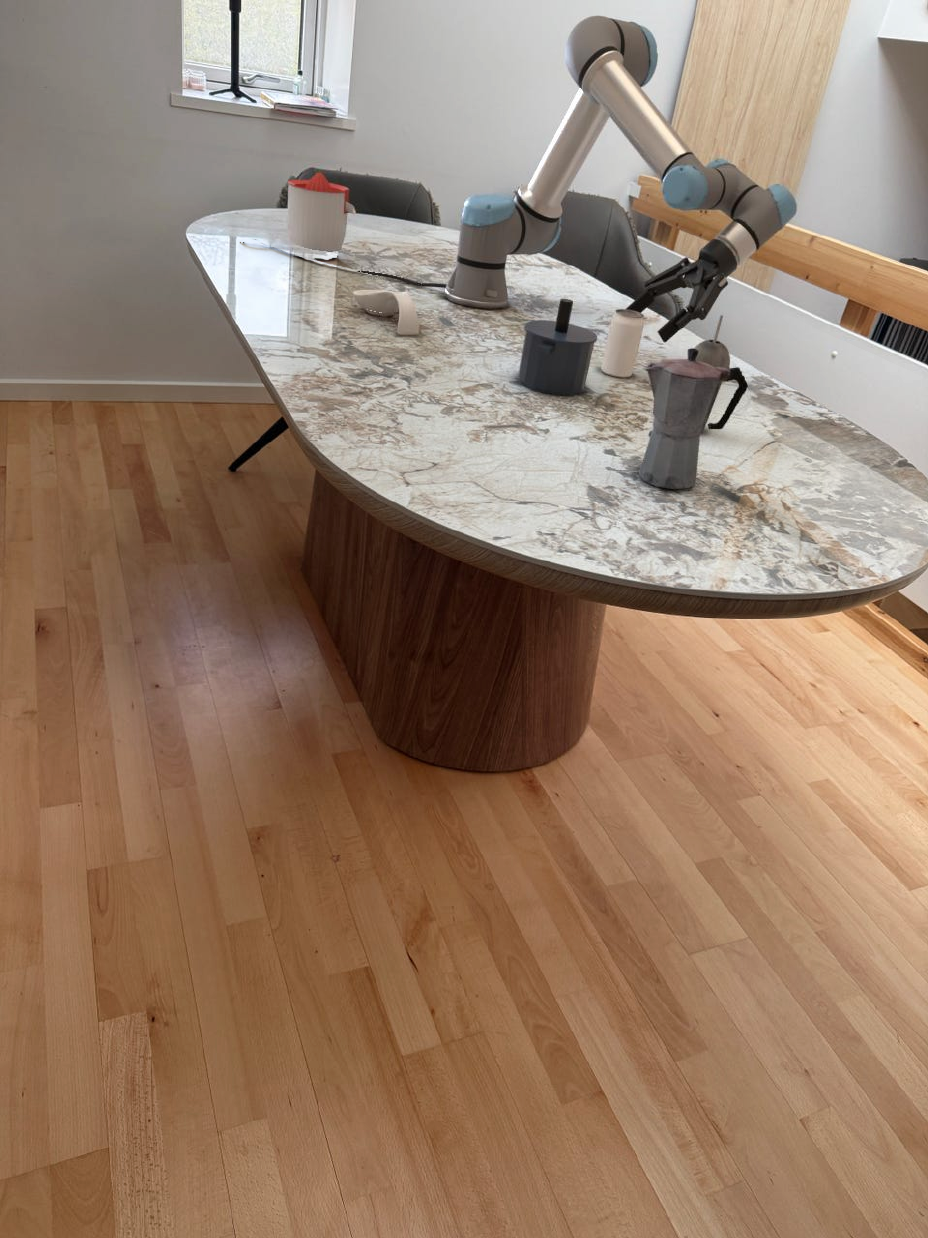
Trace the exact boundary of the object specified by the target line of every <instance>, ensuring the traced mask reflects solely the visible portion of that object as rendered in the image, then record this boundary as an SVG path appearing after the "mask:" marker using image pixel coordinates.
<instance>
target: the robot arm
mask: <svg viewBox="0 0 928 1238" xmlns="http://www.w3.org/2000/svg"><path fill="white" fill-rule="evenodd" d="M658 58H659V54H658V44H657V41H656V37H654V35H653V33H652V32H651V31H650V29H648V28H647V27H645V26H644V25H640V24H639V23H637V22H634V21H626V20H622V19H617V18H611V17H607V16H604V15H591V16H588V17H585V18H584V19H583V20H580V22H578V23H577V24H576V25H575V26H574V27H573V28H572V30H571V31H570V33H569V35H568V37H567V40H566V43H565V49H564V59H565V65H566V67H567V70H568V73H569V74H570V76H571V78H572V79H573V81H574V82H575V84H576V85H577V86H578V88H579V89H578V91H577V92H576V94H575V97H574V98H573V100H572V102H571V104H570V106H569V108H568V109H567V111H566V114H565V115H564V117H563V119H562V121H561V123H560V124H559V127H558V129H557V130H556V132H555V134H554V136H553V137H552V140H551V142H550V144H549V146H548V148H547V149H546V151H545V153H544V154H543V157H542V159H541V161H540V163H539V165H538V167H537V168H536V170H535V172H534V174H533V176H532V178H531V180H530V181H529V183H526V184H522V185H521V186H520V187H519V188H518V190H517V192H516V193H515V196H514V198H512V197H511V196H509V195H505V194H499V193H478V194H473V195H471V196H469V197H468V198H467V199H466V200H465V201H464V203H463V210H462V213H461V215H460V216H461V217H460V218H461V222H460V230H459V239H458V247H457V255H456V263H455V266H454V268H453V271H452V272H451V274H450V276H449V279H448V282H447V283H437V282H420V281H416V282H415V280H412V279H410V278H406V277H403V278H401V277H402V276H400V277H397V276H398V275H396V276H393V275H394V274H391V275H388V274H389V273H386V274H382V273H383V272H380V273H375V272H376V271H373V272H369V271H370V270H367V271H361V272H363V273H368V274H372V275H371V276H375V275H378V276H377V277H381V276H383V278H386V279H387V278H388V279H393V280H398V281H401V282H404V283H406V284H409V285H413V286H418V287H423V288H441V289H442V288H443V289H445V290H444V297H445V299H447V300H448V301H450V302H452V303H455V304H458V305H460V306H461V305H462V306H464V307H465V306H466V307H471V308H476V309H486V310H497V309H504V308H506V307H507V306H508V302H509V301H508V300H509V293H508V287H507V279H506V274H505V273H506V264H507V257H508V256H514V255H527V256H532V255H537V254H542V253H545V252H548V251H549V250H551V248H553V247H554V246H555V244H556V243H557V241H558V240H559V238H560V235H561V232H562V226H561V224H562V217H561V216H562V214H563V207H562V204H561V203H562V202H563V200H564V197H565V196H566V194H567V193H568V191H569V189H570V187H571V185H572V184H573V182H574V180H575V178H576V177H577V175H578V174H579V171H580V170H581V169H582V166H583V165H584V162H586V159H587V157H588V156H589V154H590V152H591V150H592V149H593V147H594V146H595V143H596V142H597V140H598V138H599V136H600V134H602V131H603V129H604V127H605V126H606V124H607V122H608V120H609V119H611V121H612V122H613V123H614V124H615V125H616V127H617V128H618V129H619V130H620V132H621V133H622V134H623V136H624V137H625V138H626V140H628V143H630V145H631V146H632V147H633V148H634V150H635V151H636V152H637V153H638V155H639V156H640V157H641V158H642V160H643V161H644V162H645V163H646V164H647V166H648V168H650V170H651V171H652V172H653V174H654V175H655V176H656V178H658V180H659V181H660V182H661V192H662V198H663V200H664V202H665V204H666V205H668V207H670V208H673V209H676V210H680V211H688V212H689V211H721V212H722V213H723V214H725V215H726V216H727V217H729V219H731V220H732V221H730V222H729V223H728V224H727V225H726V226H725V227H724V228H723V229H722V230H720V231H719V232H718V233H717V234H716V235H715V236H714V238H712V239H710V240H709V241H708V242H707V243H706V244H705V245H704V246H702V248H700V250H699V251H698V257H697V260H695V261H693V262H691V261H690V259H689V258H688V256H687V257H686V256H685V257H684V258H683V259H681V260H680V261H679V262H677V263H675V264H674V265H673V266H670V267H669V268H667V269H665V270H663V271H662V272H660V273H658V274H655V276H653V277H651V278H649V279H648V280H645V281H644V282H643V287H644V288H645V289H644V291H643V292H642V293H641V294H640V295H638V296H637V298H636V299H634V300H633V302H631V303H630V304H629V305H628V306H627V307H626V308H625V309H626V310H632V311H636V312H639V313H641V314H642V312H644V311H645V310H646V309H647V308H648V307H649V306H651V304H653V302H655V300H656V298H657V297H661V296H662V295H665V294H669V293H670V292H672V291H673V292H674V291H676V290H679V289H687V288H688V289H692V293H691V297H690V300H689V302H688V305H686V306H685V308H682V309H681V310H680V311H678V313H676V314H675V315H674V316H672V318H670V319H669V320H668V321H666V323H665V324H664V325H663V326H662V327H660V328H659V329H658V330H657V334H658V336H659V337H660V339H661V340H662V342H663V343H665V344H666V343H667V342H668V341H669V340H670V339H671V338H673V336H675V335H676V334H677V333H678V332H679V331H681V330H683V329H684V328H685V327H687V325H689V324H690V323H691V321H695V320H697V319H699V320H700V321H704V320H705V319H706V318H707V316H708V315H709V313H710V311H711V310H712V308H713V306H714V305H715V303H716V301H717V299H718V298H719V296H720V295H721V292H722V291H724V289H726V287H727V286H728V285H729V282H728V279H727V278H728V277H730V275H732V273H734V272H735V271H736V270H737V268H738V267H740V266H741V265H742V264H743V263H744V262H746V260H748V259H749V258H750V257H751V256H752V255H753V254H754V253H755V252H757V251H758V250H759V249H760V248H761V247H763V246H764V244H766V243H767V242H768V241H769V240H770V239H772V238H773V237H774V236H775V235H776V234H777V233H778V232H780V231H782V230H783V229H784V227H785V226H786V225H787V224H788V223H789V222H790V221H791V220H792V219H793V218H794V217H795V216H796V214H797V211H798V204H797V201H796V198H795V196H794V195H793V193H792V192H791V191H790V190H789V189H788V188H787V187H786V186H784V185H782V184H780V183H773V184H771V186H769V187H767V188H766V189H764V188H763V187H762V186H760V185H758V184H757V183H756V182H755V181H753V179H751V178H750V177H748V175H747V174H745V173H743V172H742V171H741V170H740V169H739V168H738V167H737V165H735V164H734V163H731V162H729V161H728V160H727V159H725V158H723V157H720V158H716V159H714V160H713V161H710V162H709V163H708V164H707V165H706V166H705V165H704V164H703V163H702V162H701V160H699V158H698V157H697V156H696V155H695V154H694V153H693V151H692V150H691V148H690V147H689V146H688V144H687V143H686V142H685V141H684V140H683V139H682V137H681V136H680V135H679V133H678V132H677V131H676V130H675V128H674V127H673V126H672V125H671V124H670V122H669V120H668V119H667V118H666V117H665V116H664V115H663V114H662V112H661V111H660V109H658V107H657V106H656V105H655V104H654V102H653V101H652V100H651V98H650V97H649V96H648V94H647V93H646V92H645V91H644V90H643V87H645V86H646V85H648V83H649V82H650V81H651V79H652V78H653V76H654V74H655V72H656V69H657V66H658V60H659V59H658ZM358 272H360V271H358ZM363 273H362V274H363ZM368 274H367V275H368ZM405 278H406V279H405ZM418 282H420V283H418ZM421 283H422V284H421Z"/></svg>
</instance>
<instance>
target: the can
mask: <svg viewBox="0 0 928 1238" xmlns="http://www.w3.org/2000/svg"><path fill="white" fill-rule="evenodd" d="M644 317H645V315H644V314H643V313H642V312H641V313H639V312H636V311H632V310H626V308H619V309H615V313H614V315H612V317H611V321H610V324H609V329H608V334H607V338H606V343H605V348H604V352H603V357H602V361H601V366H600V369H601V372H602V373H603V374H605V375H608V376H610V377H615V378H620V379H627V378H630V377H631V376H632V375H633V373H634V370H635V365H636V361H637V357H638V352H639V349H640V344H641V340H642V335H643V330H644V326H645V322H644Z"/></svg>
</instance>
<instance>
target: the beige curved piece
mask: <svg viewBox="0 0 928 1238" xmlns="http://www.w3.org/2000/svg"><path fill="white" fill-rule="evenodd" d="M352 295H353V298H354V301H355V302H356V303H357V304H358V305H359V307H361V308H362V307H363V308H362V309H363V310H364V311H365V312H366V313H368V314H370V315H373V316H380V317H389V316H393V315H394V314H395V313H397V312H398V313H399V314H398V321H397V322H398V323H397V331H396V333H397V335H404V336H405V335H407V336H409V335H411V336H412V335H413V336H414V335H419V334H420V323H419V318H418V313H417V310H416V309H417V308H416V306H415V303H414V301H413V299H412V297H411V295H410V293H409V292H408V291H402V292H396V291H392V290H385V289H384V290H383V289H358V290H354V291H353V292H352ZM364 308H365V309H364ZM367 309H368V310H367ZM370 310H372V311H370ZM374 311H376V312H374ZM379 312H382V313H379ZM394 312H395V313H394Z"/></svg>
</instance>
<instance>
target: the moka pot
mask: <svg viewBox="0 0 928 1238" xmlns="http://www.w3.org/2000/svg"><path fill="white" fill-rule="evenodd" d="M694 348H695V347H694ZM694 348H692V347H691V348H688V349H687V358H670V359H669V358H668V359H666V358H665V359H661V360H660V361H656V362H650V364H648V365H646V366H645V367H644V368H643V370H644V371H646V372H647V377H648V380H649V383H650V388H651V392H652V395H653V403H652V404H653V406H652V407H653V408H652V415H653V423H652V430H650V431H649V432H648V433H647V434H648V435H647V436H648V437H649V440H648V441H647V446H646V449H645V452H644V456H643V458H642V461H641V464H640V468H639V470H638V476H639V478H640V479H641V480H642V481H643V482H646V483H647V484H649V485H651V486H653V487H658V488H661V489H668V490H686V489H689V488H692V487H693V486H695V485H696V482H697V475H698V474H697V473H698V460H699V451H700V450H699V449H700V441H701V440H700V439H701V433H702V432H701V431H702V427H703V423H704V421H705V419H706V416H707V413H708V410H709V408H710V405H711V402H712V399H713V396H714V393H715V391H716V388H717V385H718V383H719V382H720V381H723V382H725V383H727V382H730V381H735V382H737V385H738V387H737V388H736V389H735V391H734V393H733V396H732V397H731V399H730V401H729V403H728V405H727V406H726V409H725V410H724V413H723V414H722V416H721V417H720V419H719V420H718V421H717V422H709V423H707V429H708V430H723V429H724V427H725V426H726V425H727V423H728V421H729V420H730V418H731V416H732V414H733V413H734V411H735V409H736V407H737V406H738V405H739V403H740V401H741V399H742V398H743V395H744V394H746V392H747V389H748V388H749V384H748V382H747V380H746V377H745V375H743V371H742V370H741V368H740V367H739V366H738V367H730V368H729V369H728V368H724V367H717V368H715V367H712V366H711V365H709V364H706V363H703V362H699V361H696V357H697V355H698V352H699V351H698V350H696V349H694Z"/></svg>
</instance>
